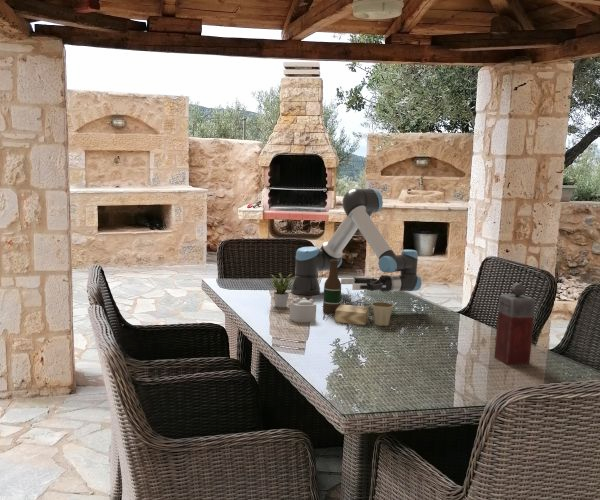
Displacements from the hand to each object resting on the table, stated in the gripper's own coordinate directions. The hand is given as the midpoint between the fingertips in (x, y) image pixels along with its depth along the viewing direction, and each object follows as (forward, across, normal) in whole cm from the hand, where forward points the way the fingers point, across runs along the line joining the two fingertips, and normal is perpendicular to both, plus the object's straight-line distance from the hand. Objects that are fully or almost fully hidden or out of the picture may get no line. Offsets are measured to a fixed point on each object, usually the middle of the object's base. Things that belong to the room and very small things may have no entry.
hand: (346, 284), depth 302 cm
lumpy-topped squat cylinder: (+24, -10, -13) cm, 29 cm away
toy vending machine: (-30, -80, -13) cm, 87 cm away
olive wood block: (+3, -15, -13) cm, 20 cm away
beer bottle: (+7, 0, -13) cm, 15 cm away
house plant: (+25, +15, -13) cm, 32 cm away
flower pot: (-6, -24, -13) cm, 29 cm away
